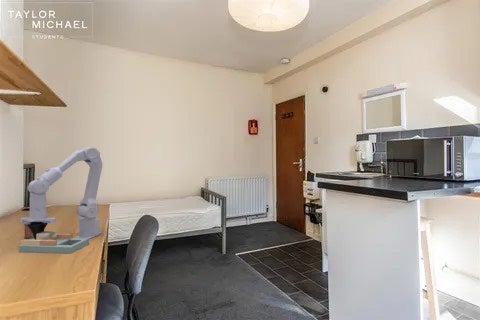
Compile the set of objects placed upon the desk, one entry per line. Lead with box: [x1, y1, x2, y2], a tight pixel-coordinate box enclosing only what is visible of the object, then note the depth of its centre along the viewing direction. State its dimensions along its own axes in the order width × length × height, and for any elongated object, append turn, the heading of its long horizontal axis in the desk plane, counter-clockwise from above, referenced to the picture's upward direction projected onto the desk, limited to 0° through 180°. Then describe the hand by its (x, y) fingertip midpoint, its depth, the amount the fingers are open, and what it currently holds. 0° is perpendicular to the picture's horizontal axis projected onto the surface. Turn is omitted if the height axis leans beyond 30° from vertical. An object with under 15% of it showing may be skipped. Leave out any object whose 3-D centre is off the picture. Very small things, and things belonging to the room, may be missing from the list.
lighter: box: [23, 222, 45, 240], centre depth 129 cm, size 8×3×10 cm, turn 141°
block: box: [36, 230, 58, 240], centre depth 115 cm, size 5×5×4 cm
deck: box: [18, 233, 90, 254], centre depth 114 cm, size 12×22×4 cm, turn 86°
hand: (38, 239), depth 115 cm, fingers closed
